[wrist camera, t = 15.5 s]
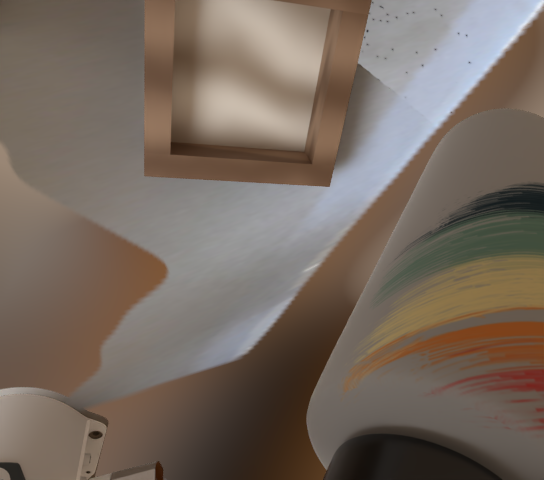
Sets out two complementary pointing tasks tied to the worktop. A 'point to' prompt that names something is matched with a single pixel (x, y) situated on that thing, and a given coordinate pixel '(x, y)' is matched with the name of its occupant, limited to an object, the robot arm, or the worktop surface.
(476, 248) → the lotion bottle
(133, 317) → the worktop surface
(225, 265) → the worktop surface
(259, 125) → the brown square shallow frame
